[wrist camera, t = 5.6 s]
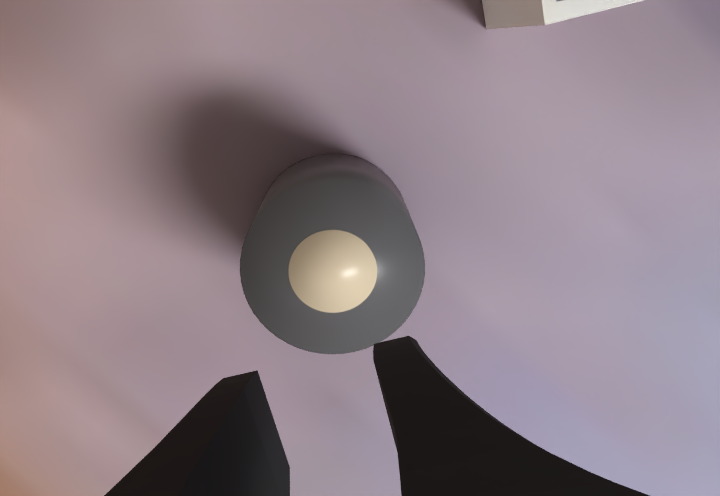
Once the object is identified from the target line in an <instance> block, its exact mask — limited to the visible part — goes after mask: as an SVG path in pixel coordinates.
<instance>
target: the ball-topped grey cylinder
mask: <svg viewBox="0 0 720 496" xmlns="http://www.w3.org/2000/svg"><path fill="white" fill-rule="evenodd" d="M240 276H241V283H242V287H243V291H244V294H245V297H246V299H247V302H248V304H249V306H250V308H251V309H252V311H253V313H254V314H255V315H256V317H257V318H258V319H259V321H260V322H261V323H262V324H263V325H264V326H265V327H266V328H267V329H268V330H269V331H270V332H271V333H273V334H274V335H275V336H277V337H278V338H280V339H281V340H283V341H285V342H286V343H288V344H290V345H293V346H295V347H297V348H300V349H303V350H306V351H310V352H315V353H321V354H344V353H350V352H355V351H359V350H362V349H366V348H368V347H370V346H373V345H374V344H376V343H379V342H381V341H382V340H384V339H386V338H387V337H388V336H390V335H391V334H392V333H394V332H395V331H396V330H397V329H398V328H399V327H400V326H401V325H402V324H403V323H404V322H405V321H406V319H407V318H408V317H409V316H410V314H411V313H412V311H413V309H414V308H415V306H416V304H417V302H418V299H419V297H420V294H421V291H422V287H423V283H424V276H425V260H424V253H423V249H422V245H421V242H420V239H419V236H418V234H417V231H416V229H415V226H414V224H413V221H412V219H411V217H410V214H409V212H408V209H407V207H406V204H405V202H404V200H403V197H402V195H401V193H400V191H399V190H398V188H397V187H396V185H395V184H394V183H393V181H392V180H391V179H390V178H389V177H388V176H387V175H386V174H385V173H384V172H383V171H382V170H380V169H379V168H377V167H376V166H375V165H373V164H371V163H369V162H367V161H365V160H363V159H360V158H357V157H354V156H349V155H344V154H323V155H317V156H313V157H310V158H306V159H304V160H302V161H300V162H297V163H295V164H294V165H292V166H291V167H289V168H288V169H286V170H285V171H284V172H283V173H282V174H280V175H279V177H278V178H277V179H276V180H275V181H274V182H273V183H272V185H271V186H270V188H269V189H268V191H267V193H266V195H265V197H264V199H263V201H262V203H261V206H260V208H259V210H258V212H257V214H256V216H255V219H254V221H253V223H252V225H251V227H250V229H249V231H248V234H247V236H246V238H245V241H244V244H243V247H242V253H241V258H240Z"/></svg>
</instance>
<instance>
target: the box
mask: <svg viewBox="0 0 720 496" xmlns="http://www.w3.org/2000/svg"><path fill="white" fill-rule="evenodd" d="M639 1H643V0H563V1H557V2H556V0H482V5H483V11H484V17H485V23H486V29H493V28H508V27H523V26H538V25H547V24H551V23H555V22H559V21H563V20H567V19H571V18H575V17H579V16H583V15H587V14H591V13H595V12H599V11H603V10H607V9H611V8H615V7H619V6H623V5H627V4H631V3H635V2H639Z"/></svg>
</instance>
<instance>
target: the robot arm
mask: <svg viewBox="0 0 720 496" xmlns="http://www.w3.org/2000/svg"><path fill="white" fill-rule="evenodd" d="M373 358H374V364H375V368H376V371H377V375H378V379H379V383H380V387H381V391H382V394H383V398H384V402H385V406H386V410H387V414H388V418H389V421H390V425H391V429H392V433H393V437H394V441H395V444H396V448H397V452H398V460H399V470H400V481H401V494H402V496H649V495H646V494H644V493H641V492H638V491H636V490H633V489H630V488H628V487H625V486H622V485H620V484H617V483H614V482H612V481H610V480H607V479H605V478H602V477H600V476H598V475H595V474H593V473H591V472H588V471H586V470H584V469H582V468H580V467H578V466H576V465H574V464H572V463H570V462H568V461H566V460H564V459H562V458H559V457H557V456H555V455H553V454H551V453H549V452H547V451H546V450H544V449H542V448H540V447H539V446H537V445H535V444H533V443H532V442H530V441H529V440H527V439H525V438H524V437H522V436H521V435H519V434H517V433H516V432H514V431H513V430H511V429H510V428H508V427H507V426H505V425H504V424H502V423H501V422H500V421H498V420H497V419H496V418H494V417H493V416H491V415H490V414H489V413H488V412H486V411H485V410H484V409H483V408H481V407H480V406H479V405H477V404H476V403H475V402H474V401H472V400H471V399H470V398H469V397H468V396H467V395H465V394H464V393H463V392H462V391H461V390H460V389H459V388H458V387H457V386H456V385H455V384H453V383H452V382H451V381H450V380H449V379H448V378H447V377H446V376H445V375H444V374H443V373H442V372H441V371H440V370H439V369H438V368H437V367H436V366H435V365H434V363H433V362H432V361H431V360H430V359H429V358H428V357H427V355H426V354H425V353H424V352H423V350H422V349H421V347H420V346H419V344H418V342H417V341H416V340H415V339H413V338H412V337H410V336H406V337H402V338H398V339H393V340H389V341H384V342H380V343H376V344H374V350H373ZM104 496H290V467H289V464H288V461H287V458H286V455H285V452H284V449H283V446H282V443H281V440H280V437H279V434H278V431H277V428H276V425H275V422H274V419H273V416H272V413H271V410H270V407H269V404H268V401H267V398H266V395H265V392H264V389H263V386H262V383H261V380H260V377H259V374H258V371H253V372H249V373H244V374H240V375H236V376H231V377H227V378H223V379H222V380H221V381H219V382H218V383H217V384H216V385H215V386H214V387H213V388H212V389H211V390H210V391H209V392H208V393H207V394H206V395H205V396H204V397H203V398H202V399H201V400H200V401H199V402H198V403H197V404H196V405H195V406H194V407H193V408H192V409H191V410H190V411H189V412H188V413H187V414H186V416H185V417H184V418H183V419H182V420H181V421H180V422H179V423H178V424H177V425H176V426H175V427H174V428H173V429H172V430H171V431H170V432H169V433H168V434H167V435H166V436H165V437H164V438H163V439H162V440H161V442H160V443H159V444H158V445H157V446H156V447H155V448H154V449H153V450H152V451H151V452H150V453H149V454H148V455H146V456H145V457H144V458H143V459H142V460H141V461H140V462H139V463H138V464H137V465H136V466H135V467H134V468H133V469H132V470H131V471H130V472H129V473H128V474H127V475H126V476H125V477H123V478H122V479H121V480H120V481H119V482H118V483H117V484H116V485H115V486H114V487H113V488H112V489H111V490H110V491H109V492H108V493H107V494H106V495H104Z"/></svg>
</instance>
